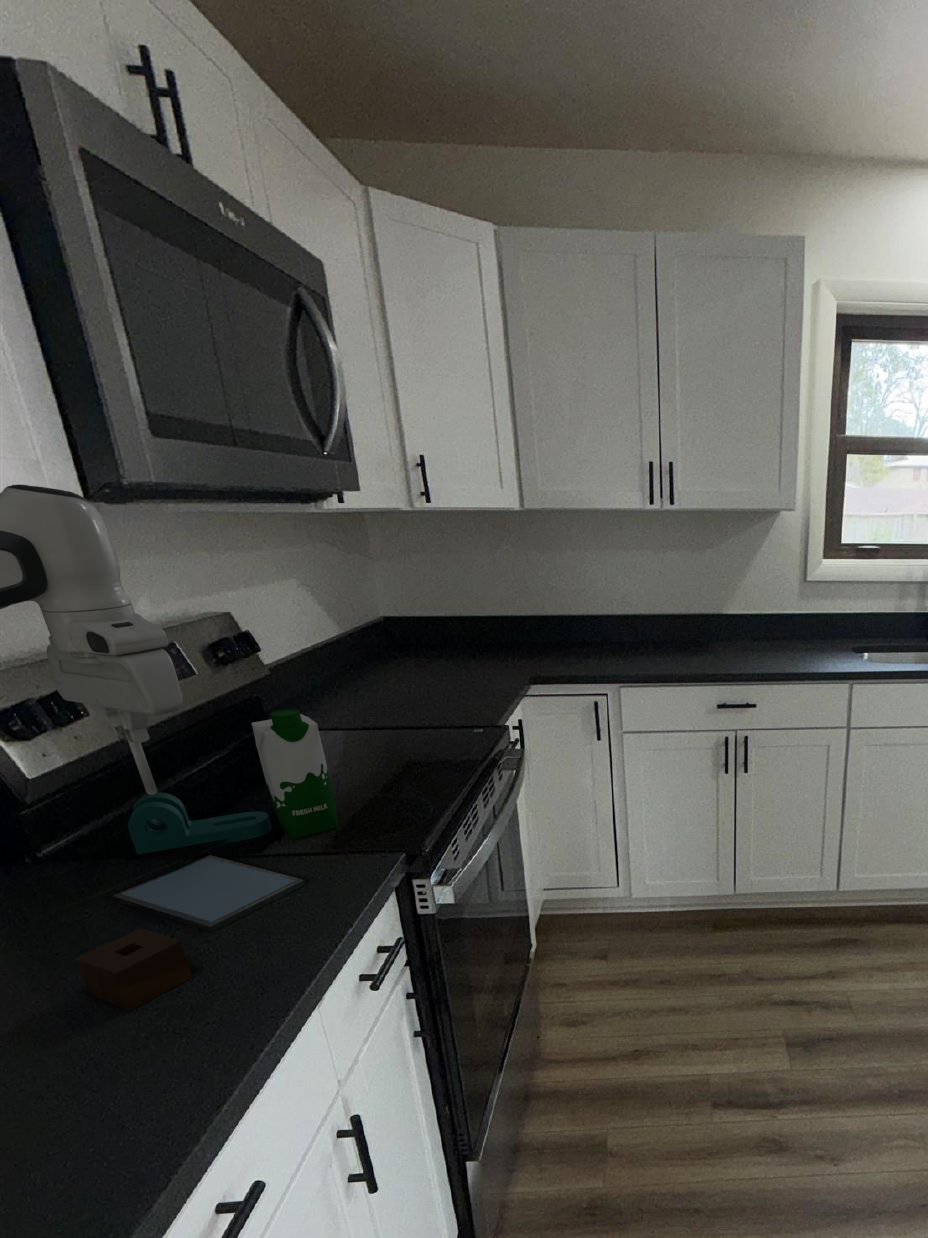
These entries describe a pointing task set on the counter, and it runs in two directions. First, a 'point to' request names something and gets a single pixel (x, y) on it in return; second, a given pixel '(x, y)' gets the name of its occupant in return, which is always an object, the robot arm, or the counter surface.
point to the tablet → (209, 892)
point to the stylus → (140, 760)
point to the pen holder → (134, 968)
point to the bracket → (187, 825)
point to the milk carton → (296, 773)
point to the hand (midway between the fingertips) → (133, 740)
